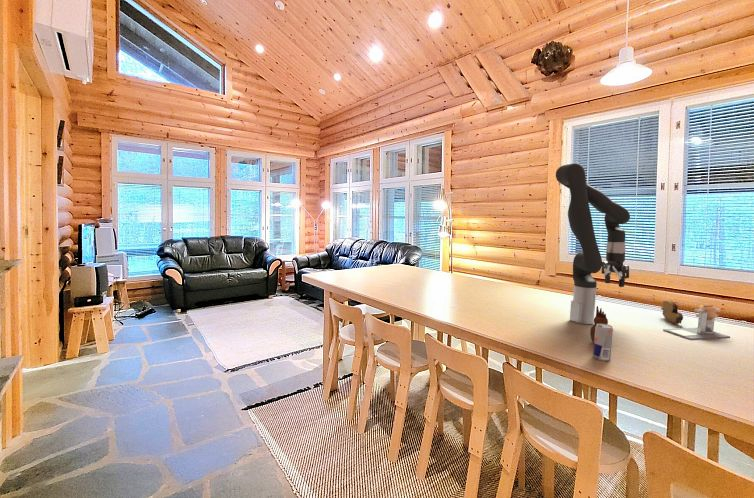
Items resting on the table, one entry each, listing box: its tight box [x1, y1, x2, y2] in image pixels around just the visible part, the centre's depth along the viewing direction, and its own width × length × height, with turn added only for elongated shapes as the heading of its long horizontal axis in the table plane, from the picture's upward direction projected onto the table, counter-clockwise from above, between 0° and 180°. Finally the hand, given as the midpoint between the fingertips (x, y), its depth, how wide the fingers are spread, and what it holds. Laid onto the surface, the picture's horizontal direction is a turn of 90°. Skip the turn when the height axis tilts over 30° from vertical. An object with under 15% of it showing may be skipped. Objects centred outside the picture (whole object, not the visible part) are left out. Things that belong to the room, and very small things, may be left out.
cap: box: [695, 304, 719, 319], centre depth 159 cm, size 10×5×5 cm, turn 99°
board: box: [662, 327, 731, 341], centre depth 160 cm, size 20×12×1 cm, turn 99°
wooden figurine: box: [589, 305, 609, 344], centre depth 145 cm, size 7×6×15 cm
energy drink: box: [592, 324, 614, 362], centre depth 131 cm, size 5×5×12 cm
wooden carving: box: [660, 300, 684, 324], centre depth 177 cm, size 16×5×10 cm, turn 168°
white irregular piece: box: [694, 307, 722, 334], centre depth 160 cm, size 11×5×10 cm, turn 99°
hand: (614, 285), depth 175 cm, fingers open, 8 cm apart
